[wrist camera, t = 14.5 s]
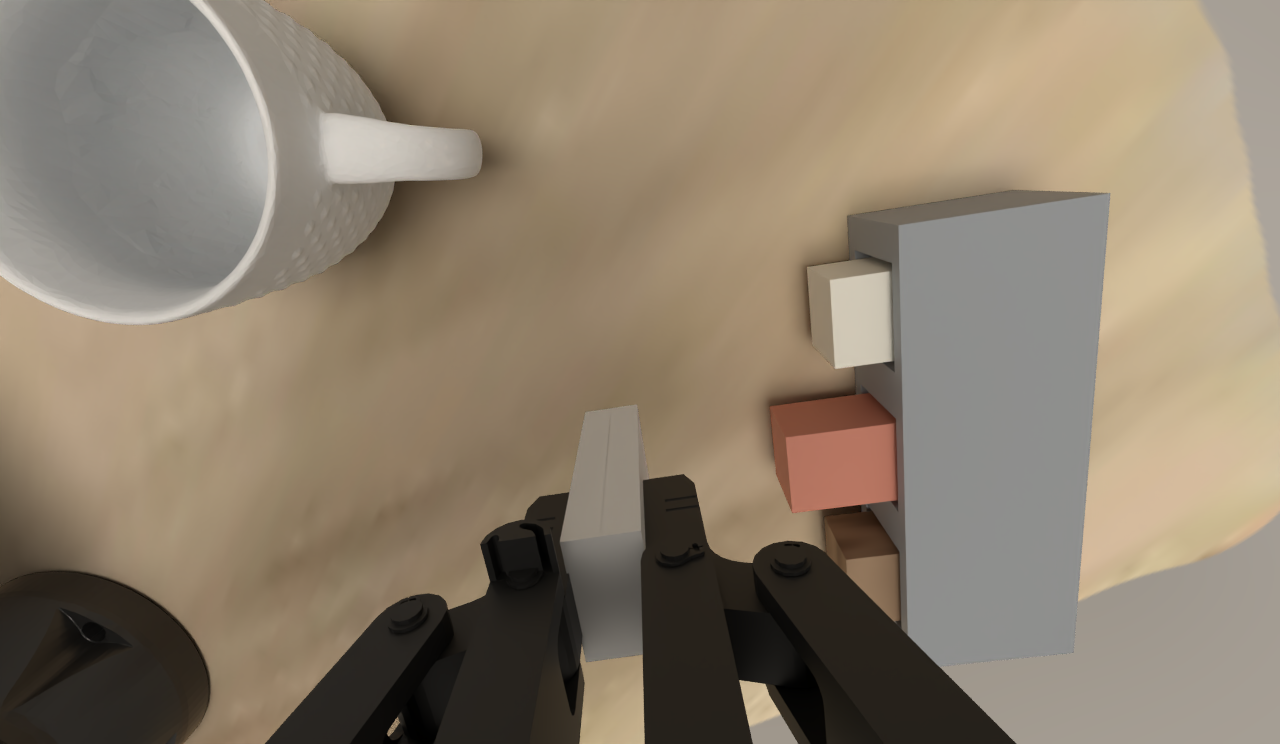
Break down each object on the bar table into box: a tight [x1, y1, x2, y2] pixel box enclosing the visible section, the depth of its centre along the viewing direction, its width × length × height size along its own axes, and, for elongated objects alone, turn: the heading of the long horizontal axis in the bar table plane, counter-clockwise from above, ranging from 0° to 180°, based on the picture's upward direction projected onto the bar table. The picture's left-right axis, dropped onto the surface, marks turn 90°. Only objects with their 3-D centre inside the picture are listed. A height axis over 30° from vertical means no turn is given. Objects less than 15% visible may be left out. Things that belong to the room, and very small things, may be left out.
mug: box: [0, 0, 482, 325], centre depth 23 cm, size 15×11×13 cm
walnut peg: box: [824, 511, 901, 621], centre depth 32 cm, size 9×4×4 cm, turn 99°
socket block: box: [847, 190, 1110, 667], centre depth 30 cm, size 8×22×6 cm, turn 9°
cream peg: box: [807, 257, 894, 369], centre depth 28 cm, size 9×4×4 cm, turn 99°
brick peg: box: [770, 393, 898, 513], centre depth 30 cm, size 9×4×4 cm, turn 99°
